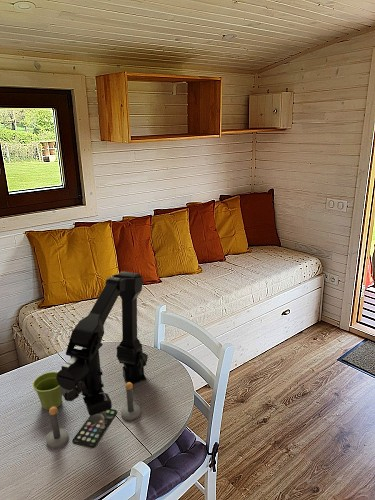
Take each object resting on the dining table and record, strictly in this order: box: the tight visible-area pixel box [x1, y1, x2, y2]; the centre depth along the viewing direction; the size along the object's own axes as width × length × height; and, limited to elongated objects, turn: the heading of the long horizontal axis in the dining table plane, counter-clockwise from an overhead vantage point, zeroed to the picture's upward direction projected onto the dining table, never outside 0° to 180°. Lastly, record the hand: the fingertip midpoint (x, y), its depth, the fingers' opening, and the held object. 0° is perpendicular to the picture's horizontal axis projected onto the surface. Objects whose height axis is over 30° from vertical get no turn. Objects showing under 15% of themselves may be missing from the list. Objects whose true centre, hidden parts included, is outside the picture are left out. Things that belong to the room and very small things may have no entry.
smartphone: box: [72, 408, 118, 449], centre depth 113 cm, size 7×1×15 cm
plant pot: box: [32, 371, 63, 411], centre depth 120 cm, size 9×9×9 cm
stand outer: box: [45, 407, 69, 449], centre depth 106 cm, size 6×6×11 cm
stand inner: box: [120, 382, 142, 421], centre depth 116 cm, size 6×6×11 cm
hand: (94, 412), depth 111 cm, fingers closed
